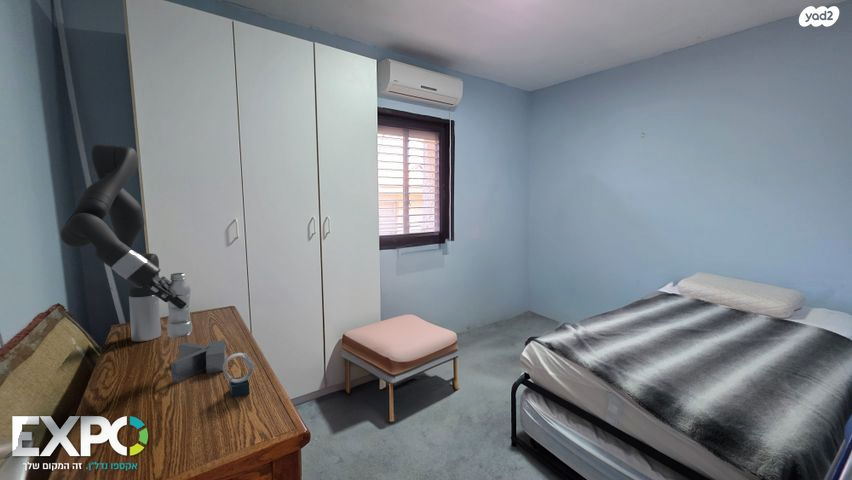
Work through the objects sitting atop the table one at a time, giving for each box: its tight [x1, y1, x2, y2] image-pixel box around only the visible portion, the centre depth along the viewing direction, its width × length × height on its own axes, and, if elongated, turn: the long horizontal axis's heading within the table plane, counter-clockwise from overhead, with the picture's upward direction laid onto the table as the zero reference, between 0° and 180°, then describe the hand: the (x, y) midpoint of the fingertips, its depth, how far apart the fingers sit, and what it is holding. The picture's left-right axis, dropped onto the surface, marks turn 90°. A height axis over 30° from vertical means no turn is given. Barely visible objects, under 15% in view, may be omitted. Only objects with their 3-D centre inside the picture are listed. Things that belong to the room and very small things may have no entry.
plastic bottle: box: [166, 272, 193, 339], centre depth 113 cm, size 6×7×20 cm
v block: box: [170, 339, 227, 384], centre depth 117 cm, size 18×14×6 cm
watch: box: [222, 352, 256, 399], centre depth 102 cm, size 6×8×11 cm
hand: (185, 303), depth 114 cm, fingers closed on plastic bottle, 6 cm apart
